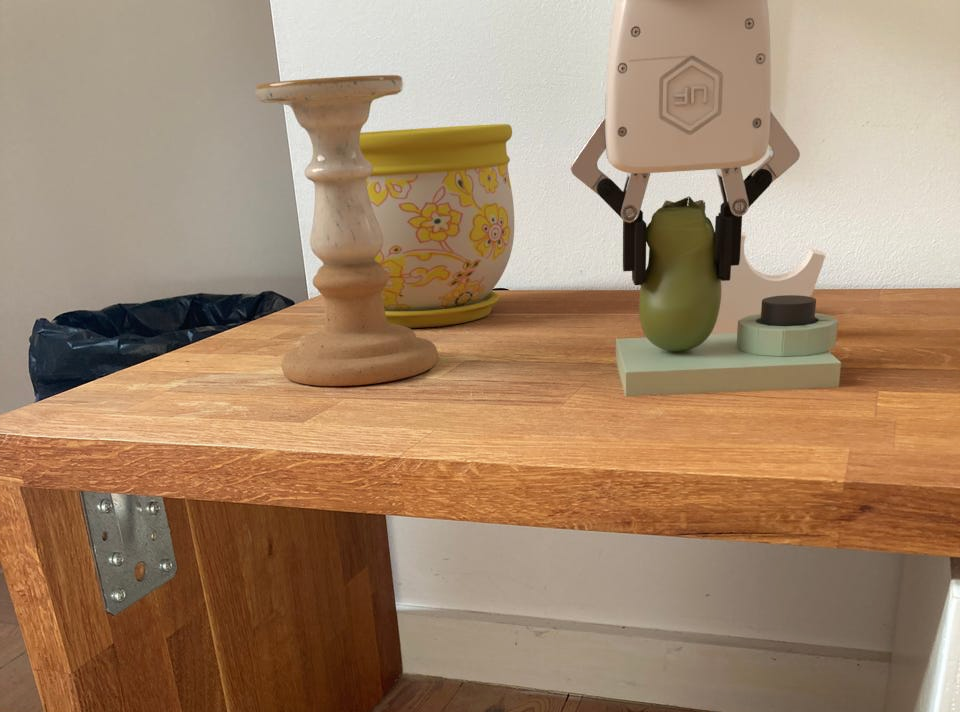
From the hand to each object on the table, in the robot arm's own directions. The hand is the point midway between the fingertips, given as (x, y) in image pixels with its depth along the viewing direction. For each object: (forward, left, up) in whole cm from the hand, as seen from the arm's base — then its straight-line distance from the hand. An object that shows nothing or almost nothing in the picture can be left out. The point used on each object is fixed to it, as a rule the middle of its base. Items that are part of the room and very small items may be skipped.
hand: (680, 277), depth 70 cm
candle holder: (+24, -7, -7) cm, 26 cm away
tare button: (-7, 0, -4) cm, 8 cm away
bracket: (-8, -16, -7) cm, 19 cm away
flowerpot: (+21, -29, -7) cm, 37 cm away
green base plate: (-3, 0, -7) cm, 7 cm away
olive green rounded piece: (0, 0, -5) cm, 5 cm away
